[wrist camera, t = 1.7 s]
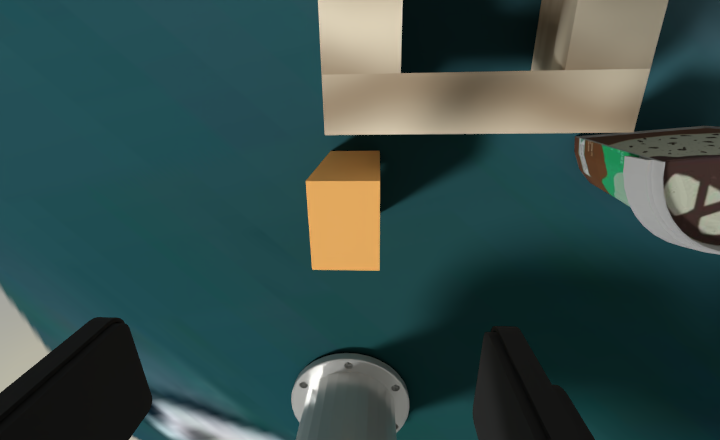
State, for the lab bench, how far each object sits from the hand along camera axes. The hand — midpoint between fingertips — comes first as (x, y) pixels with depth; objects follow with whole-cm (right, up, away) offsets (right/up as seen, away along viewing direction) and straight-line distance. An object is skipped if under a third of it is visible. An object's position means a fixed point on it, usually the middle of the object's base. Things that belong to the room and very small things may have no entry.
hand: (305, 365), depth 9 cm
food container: (+23, +8, +18) cm, 30 cm away
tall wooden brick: (+1, +7, +19) cm, 21 cm away
